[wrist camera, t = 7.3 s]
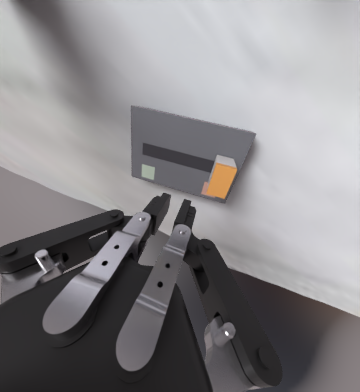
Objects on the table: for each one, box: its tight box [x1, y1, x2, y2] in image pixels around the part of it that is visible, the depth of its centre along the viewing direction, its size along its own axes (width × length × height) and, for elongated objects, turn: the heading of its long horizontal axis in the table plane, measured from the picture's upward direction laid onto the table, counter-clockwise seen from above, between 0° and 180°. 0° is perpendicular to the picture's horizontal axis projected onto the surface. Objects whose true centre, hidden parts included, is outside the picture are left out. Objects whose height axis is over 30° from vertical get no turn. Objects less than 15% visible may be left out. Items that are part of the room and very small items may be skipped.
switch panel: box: [131, 106, 256, 203], centre depth 28 cm, size 22×14×4 cm, turn 80°
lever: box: [206, 155, 237, 199], centre depth 23 cm, size 3×5×6 cm, turn 170°
